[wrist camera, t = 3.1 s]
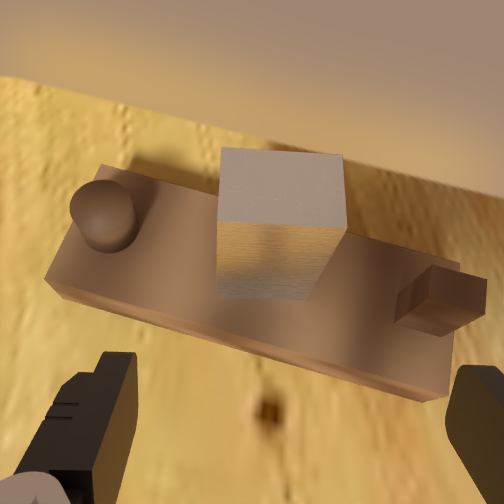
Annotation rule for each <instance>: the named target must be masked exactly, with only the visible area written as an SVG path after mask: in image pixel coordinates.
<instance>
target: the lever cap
mask: <svg viewBox="0 0 504 504" xmlns="http://www.w3.org/2000/svg"><path fill="white" fill-rule="evenodd" d="M346 230H347V214H346V199H345V185H344V170H343V156H342V155H337V154H322V153H306V152H291V151H275V150H260V149H244V148H229V147H222V148H221V164H220V181H219V198H218V215H217V268H216V297H227V298H249V299H271V300H294V301H305V300H306V298H307V297H308V295H309V293H310V292H311V290H312V288H313V286H314V285H315V283H316V281H317V280H318V278H319V276H320V274H321V273H322V271H323V269H324V268H325V266H326V264H327V262H328V261H329V259H330V257H331V256H332V254H333V252H334V251H335V249H336V247H337V245H338V244H339V242H340V240H341V239H342V237H343V235H344V233H345V232H346Z"/></svg>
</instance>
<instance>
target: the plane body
mask: <svg viewBox="0 0 504 504" xmlns="http://www.w3.org/2000/svg"><path fill="white" fill-rule="evenodd" d="M218 198H219V196H215V195H212V194H208V193H205V192H201V191H197V190H194V189H190V188H187V187H183V186H179V185H176V184H172V183H168V182H165V181H161V180H158V179H154V178H150V177H147V176H143V175H140V174H136V173H132V172H129V171H125V170H122V169H118V168H114V167H111V166H107V165H103V164H101V166H100V168H99V170H98V172H97V174H96V176H95V178H94V180H93V181H92V182H89V183H87V184H85V185H83V186H82V187H80V188H79V189H78V190H77V191H76V192H75V194H74V195H73V197H72V199H71V202H70V214H71V217H72V219H73V222H72V224H71V226H70V228H69V230H68V232H67V234H66V236H65V238H64V240H63V242H62V244H61V246H60V248H59V250H58V252H57V254H56V256H55V258H54V260H53V262H52V264H51V266H50V268H49V270H48V272H47V274H46V276H45V278H44V279H45V280H46V282H47V283H48V284H49V285H50V286H51V287H52V288H53V289H54V290H55V291H56V292H57V293H58V294H59V295H60V296H61V297H62V298H63V299H67V300H70V301H74V302H77V303H80V304H84V305H87V306H91V307H94V308H98V309H101V310H105V311H108V312H111V313H115V314H118V315H122V316H125V317H129V318H132V319H136V320H139V321H142V322H146V323H149V324H153V325H156V326H160V327H163V328H167V329H170V330H173V331H177V332H180V333H184V334H187V335H191V336H194V337H198V338H201V339H204V340H208V341H211V342H215V343H218V344H222V345H225V346H229V347H232V348H235V349H239V350H242V351H246V352H249V353H253V354H256V355H260V356H263V357H266V358H270V359H273V360H277V361H280V362H284V363H287V364H291V365H294V366H297V367H301V368H304V369H308V370H311V371H315V372H318V373H322V374H325V375H328V376H332V377H335V378H339V379H342V380H346V381H349V382H353V383H356V384H360V385H363V386H366V387H370V388H373V389H377V390H380V391H384V392H387V393H391V394H394V395H397V396H401V397H404V398H408V399H411V400H415V401H418V402H422V403H423V402H426V401H430V400H434V399H438V398H442V397H446V396H448V395H449V384H450V373H451V361H452V350H453V339H454V330H456V329H458V328H460V327H462V326H464V325H466V324H468V323H470V322H472V321H473V320H475V319H477V318H479V317H481V316H483V315H485V306H486V290H487V279H483V278H480V277H476V276H472V275H469V274H465V273H462V272H459V271H460V263H458V262H454V261H450V260H447V259H443V258H439V257H436V256H432V255H429V254H425V253H421V252H418V251H414V250H411V249H407V248H403V247H400V246H396V245H392V244H389V243H385V242H382V241H378V240H374V239H371V238H367V237H364V236H360V235H356V234H353V233H349V232H345V233H344V235H343V237H342V239H341V240H340V242H339V244H338V245H337V247H336V249H335V251H334V252H333V254H332V256H331V257H330V259H329V261H328V262H327V264H326V266H325V268H324V269H323V271H322V273H321V274H320V276H319V278H318V280H317V281H316V283H315V285H314V286H313V288H312V290H311V292H310V293H309V295H308V297H307V298H306V300H305V301H294V300H271V299H249V298H227V297H216V268H217V215H218Z"/></svg>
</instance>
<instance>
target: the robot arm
mask: <svg viewBox="0 0 504 504" xmlns="http://www.w3.org/2000/svg"><path fill="white" fill-rule="evenodd" d="M137 417H138V376H137V355H136V353H135V352H106V351H105V352H103V354H102V355H101V358H100V360H99V362H98V364H97V366H96V368H95V370H94V373H90V372H78V373H77V374H76V375H75V376H73V377H72V378H71V379H70V380H68V381H67V382H66V383H65V384H64V385H62V386H61V388H60V390H59V392H58V394H57V396H56V397H55V399H54V401H53V405H52V406H51V407H50V408H49V410H48V412H47V414H46V416H45V420H43V421H42V423H41V425H40V427H39V429H38V430H37V432H36V434H35V436H34V438H33V440H32V441H31V443H30V445H29V447H28V449H27V451H26V452H25V454H24V456H23V458H22V460H21V462H20V463H19V465H18V467H17V469H16V471H15V472H14V474H13V475H12V476H10V477H7V478H5V479H3V480H1V481H0V504H116V501H117V497H118V493H119V490H120V486H121V482H122V479H123V475H124V471H125V468H126V464H127V460H128V456H129V453H130V449H131V445H132V442H133V438H134V434H135V430H136V425H137ZM445 426H446V432H447V435H448V438H449V440H450V442H451V444H452V446H453V447H454V449H455V451H456V452H457V454H458V456H459V457H460V459H461V461H462V463H463V464H464V466H465V468H466V469H467V471H468V473H469V474H470V476H471V478H472V479H473V481H474V483H475V484H476V486H477V488H478V490H479V491H480V493H481V495H482V496H483V498H484V500H485V501H486V503H487V504H504V374H503V373H502V372H501V371H500V370H499V369H498V368H497V367H495V366H485V365H462V366H461V367H460V368H459V369H458V371H457V375H456V378H455V382H454V386H453V389H452V393H451V397H450V400H449V404H448V408H447V412H446V417H445Z"/></svg>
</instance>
